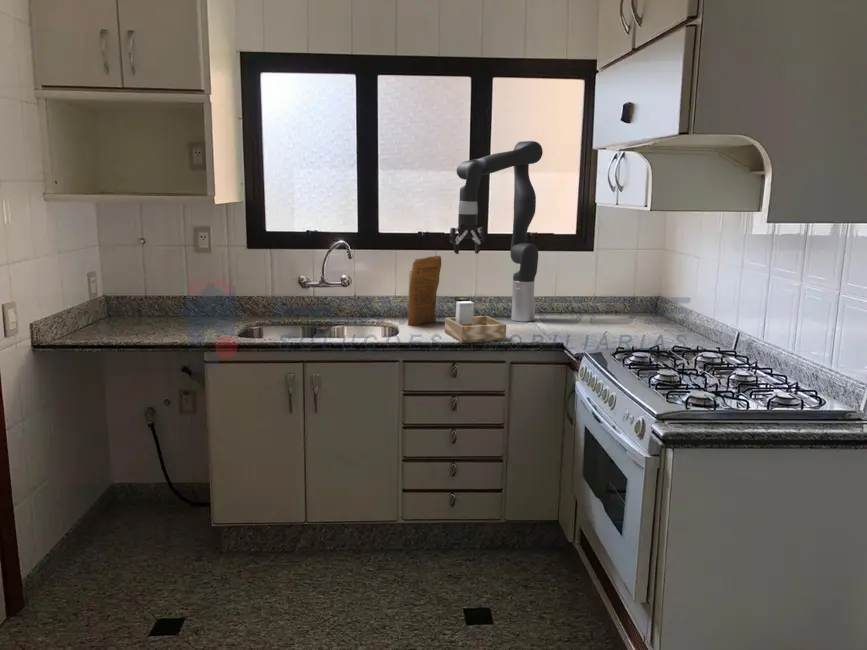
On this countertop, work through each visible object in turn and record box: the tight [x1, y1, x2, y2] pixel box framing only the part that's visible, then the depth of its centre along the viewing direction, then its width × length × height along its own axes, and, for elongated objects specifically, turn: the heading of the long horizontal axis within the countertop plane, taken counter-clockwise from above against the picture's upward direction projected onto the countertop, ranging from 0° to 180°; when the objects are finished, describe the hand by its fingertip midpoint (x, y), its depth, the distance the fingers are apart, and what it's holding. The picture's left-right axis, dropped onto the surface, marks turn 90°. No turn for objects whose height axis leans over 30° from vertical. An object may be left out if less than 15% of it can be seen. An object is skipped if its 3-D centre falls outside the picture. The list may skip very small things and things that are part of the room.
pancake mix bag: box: [407, 255, 442, 326], centre depth 300 cm, size 7×19×28 cm, turn 135°
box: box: [444, 315, 507, 344], centre depth 279 cm, size 18×18×6 cm
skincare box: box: [455, 300, 475, 326], centre depth 280 cm, size 6×4×12 cm
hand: (466, 253), depth 291 cm, fingers open, 8 cm apart
